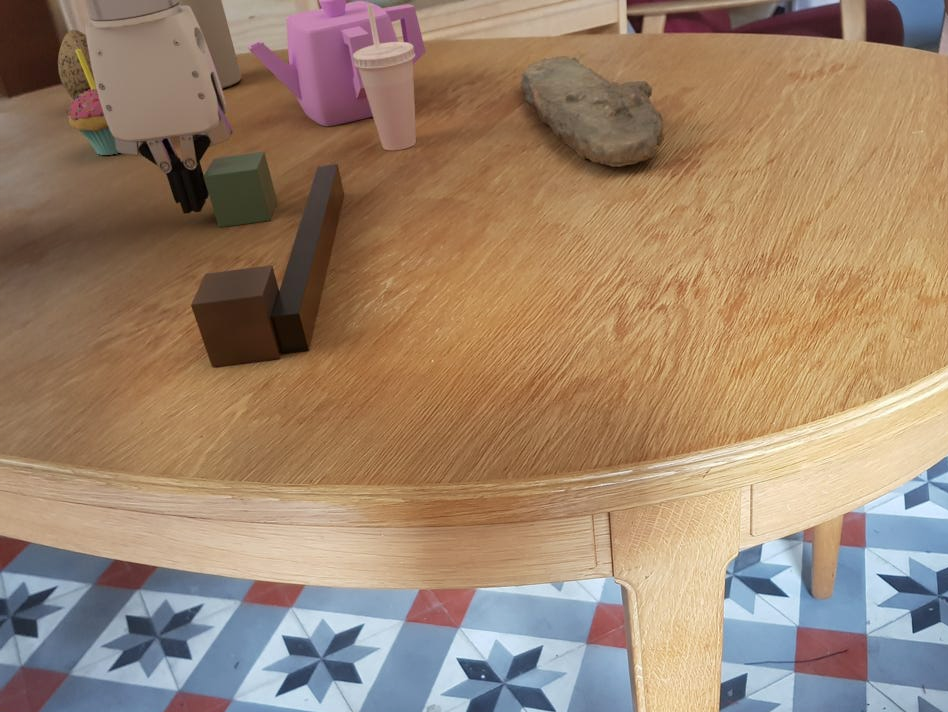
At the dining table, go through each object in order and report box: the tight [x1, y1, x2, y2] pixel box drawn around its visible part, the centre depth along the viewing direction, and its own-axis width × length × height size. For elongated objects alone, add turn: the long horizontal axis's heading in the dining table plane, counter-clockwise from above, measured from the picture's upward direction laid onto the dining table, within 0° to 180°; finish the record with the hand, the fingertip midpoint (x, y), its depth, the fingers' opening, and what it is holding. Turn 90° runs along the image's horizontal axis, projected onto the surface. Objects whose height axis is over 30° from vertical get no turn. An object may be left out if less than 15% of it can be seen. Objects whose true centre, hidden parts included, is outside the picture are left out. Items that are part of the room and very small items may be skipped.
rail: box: [271, 163, 345, 355], centre depth 79 cm, size 2×31×3 cm, turn 2°
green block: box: [203, 151, 278, 228], centre depth 90 cm, size 5×5×5 cm
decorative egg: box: [57, 29, 96, 99], centre depth 130 cm, size 7×7×10 cm
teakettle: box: [247, 0, 427, 127], centre depth 114 cm, size 17×17×12 cm
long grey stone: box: [520, 55, 665, 168], centre depth 100 cm, size 35×5×10 cm
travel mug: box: [179, 0, 242, 90], centre depth 129 cm, size 8×8×18 cm
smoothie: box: [353, 3, 417, 151], centre depth 99 cm, size 6×6×14 cm
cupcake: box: [66, 42, 119, 156], centre depth 111 cm, size 9×8×12 cm
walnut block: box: [190, 264, 282, 368], centre depth 68 cm, size 5×5×5 cm
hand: (195, 207), depth 91 cm, fingers closed
